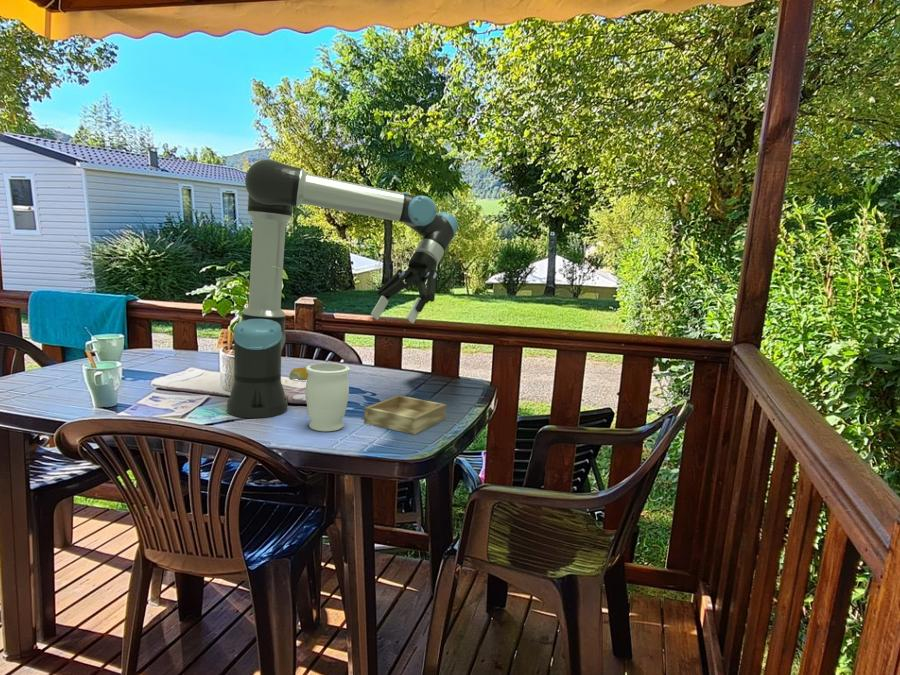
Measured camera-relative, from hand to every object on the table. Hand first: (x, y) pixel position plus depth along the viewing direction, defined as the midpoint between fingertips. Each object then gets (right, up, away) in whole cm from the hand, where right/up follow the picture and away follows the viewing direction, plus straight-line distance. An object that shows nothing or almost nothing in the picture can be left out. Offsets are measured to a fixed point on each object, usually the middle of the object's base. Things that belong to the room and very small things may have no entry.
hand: (391, 318), depth 157 cm
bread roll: (-32, -19, +34) cm, 50 cm away
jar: (-15, -27, -14) cm, 34 cm away
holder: (+4, -27, -6) cm, 28 cm away
